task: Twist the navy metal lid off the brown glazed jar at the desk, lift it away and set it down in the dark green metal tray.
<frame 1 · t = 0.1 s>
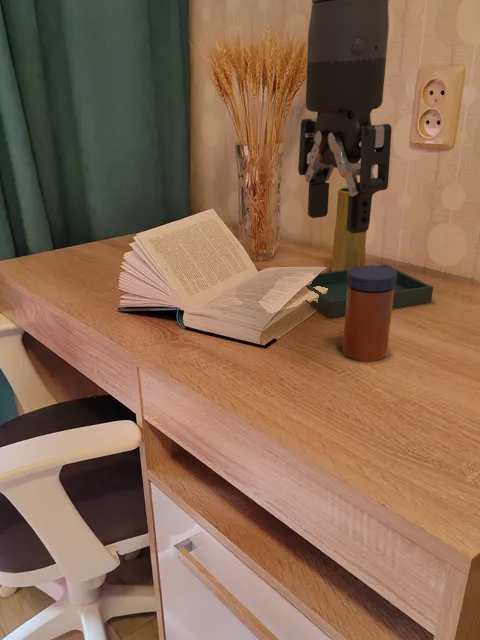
hand: (336, 223, 66), 18 cm above the table, tool pointing down, fingers open, 8 cm apart
tray: (359, 296, 96), on the table
vase: (347, 271, 108), on the table
lid: (371, 275, 73), point 10 cm above the table, screwed on, not yet turned
jar: (364, 352, 77), on the table
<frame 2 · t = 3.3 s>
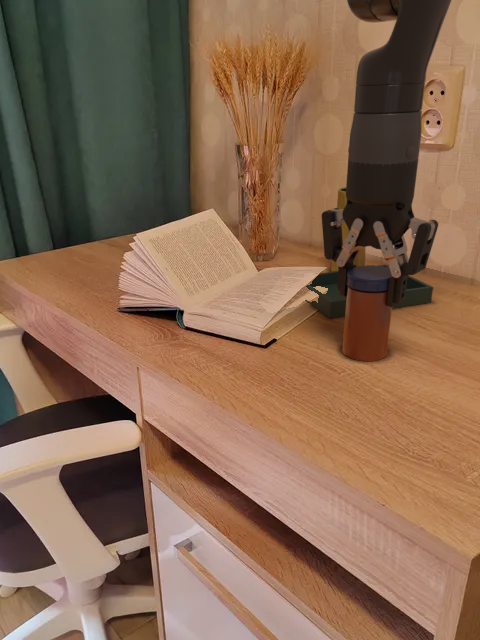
hand: (369, 299, 74), 7 cm above the table, tool pointing down, fingers closed on lid, 6 cm apart
lid: (371, 275, 73), point 10 cm above the table, screwed on, not yet turned, touching gripper
everything else where it was.
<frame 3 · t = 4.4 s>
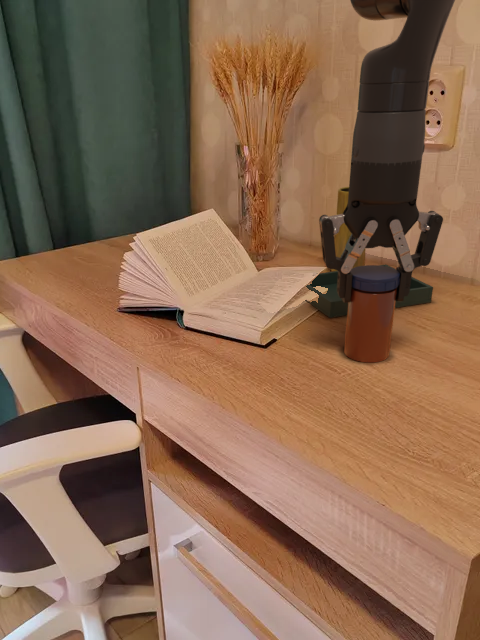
hand: (371, 299, 74), 7 cm above the table, tool pointing down, fingers closed on lid, 5 cm apart
lid: (374, 275, 72), point 10 cm above the table, turned 40° so far, risen 0.1 cm, still on its thread, touching gripper
everything else where it was.
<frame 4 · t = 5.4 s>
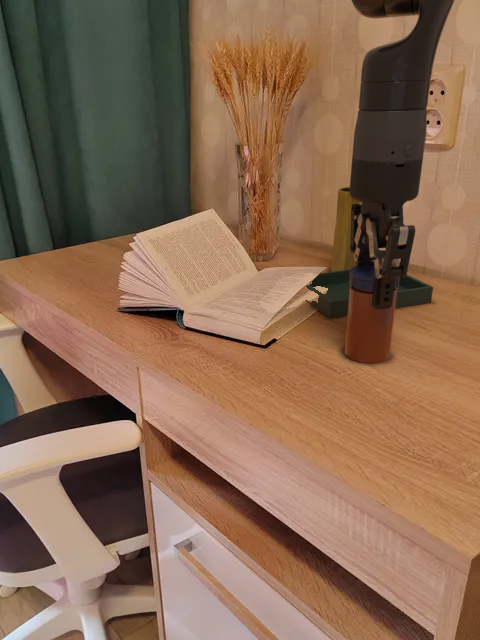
hand: (372, 298, 74), 7 cm above the table, tool pointing down, fingers closed on lid, 5 cm apart
lid: (374, 274, 72), point 11 cm above the table, off its thread, touching gripper
jar: (366, 353, 77), on the table, touching gripper
everything else where it was.
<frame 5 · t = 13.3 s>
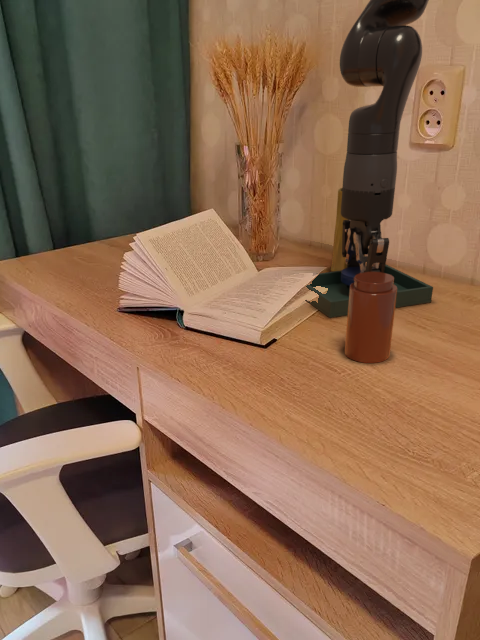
hand: (359, 292, 96), 1 cm above the table, tool pointing down, fingers closed on lid, 5 cm apart
lid: (360, 274, 94), point 4 cm above the table, off its thread, touching gripper
jar: (366, 353, 77), on the table
everything else where it was.
when the fingers open (2 cm above the table, at t = 22.3 s): lid drops 3 cm, resting on tray.
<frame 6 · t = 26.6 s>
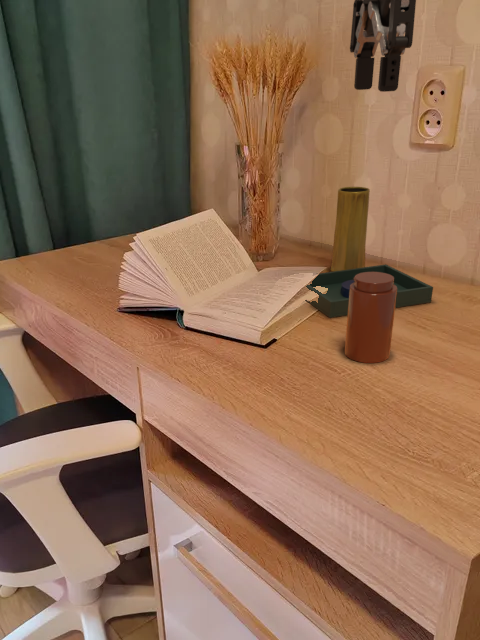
hand: (374, 90, 76), 30 cm above the table, tool pointing down, fingers open, 8 cm apart
lid: (360, 287, 95), point 2 cm above the table, off its thread, touching tray
everything else where it was.
at the end: lid came off its thread; lid inside the target area in the tray (0.2 cm from its centre), point 1.6 cm above the tray's base; the gripper is holding nothing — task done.
